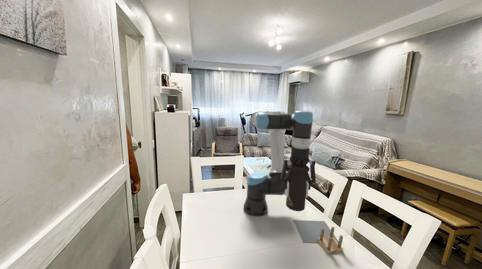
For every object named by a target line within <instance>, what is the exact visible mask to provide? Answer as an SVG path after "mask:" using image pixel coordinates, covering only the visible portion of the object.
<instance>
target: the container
mask: <svg viewBox="0 0 482 269" xmlns="http://www.w3.org/2000/svg"><path fill="white" fill-rule="evenodd" d="M287 168H288V171H289V170H290V171H291V176H290V179H289V180H288V182H289V192H288V197H286V199H285V206H286V207H287V208H288V209H289V210H290V211H294V212H303V211H304V210H305V208H306V186H307V175H308V174H309V171H310V166H309V165H308V164H307V165H306V167H303V166H296V167H293V165H292V163H289V164H288V165H287Z"/></svg>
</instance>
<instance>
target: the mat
mask: <svg viewBox="0 0 482 269" xmlns="http://www.w3.org/2000/svg"><path fill="white" fill-rule="evenodd" d="M292 222H293V223H294V224H295V227H296V230H297V231H298V234H299V236H300V238H301V241H302V243H303V244H304V243H305V244H319V243H318V242H317V238H320V234H321V229H322V228H323V229H324V236H323V237H327V236H330V232H331V228H330V227H329V225H328V224H327V222H326V221H325V220H302V219H301V220H300V219H298V220H297V219H294V220H293V221H292ZM333 238H334V239H335V240H336V241H337V242H339V239H338V238H337V237H336V235H335V233H334V234H333Z"/></svg>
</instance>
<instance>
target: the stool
mask: <svg viewBox="0 0 482 269" xmlns="http://www.w3.org/2000/svg"><path fill="white" fill-rule="evenodd" d="M330 230H331V232H330V236H327V237H323V236H324V229H323V228H322V229H321V234H320V238H317V242H318V243H317V244H319V246H321V247H322V249H323V250H324V251H325V252H326V253H327V254H328V255H329V254H334V253H339V252H343V251H344V248H343V247H342V244H343V241H344V240H343V238H344V236H343V235H341V234H340V235H339V238H338V241H339V242H337V241H336V240H335V239H334V238H333V234H334V235H335V227H334V226H331V228H330Z"/></svg>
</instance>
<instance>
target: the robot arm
mask: <svg viewBox="0 0 482 269" xmlns="http://www.w3.org/2000/svg"><path fill="white" fill-rule="evenodd" d="M313 114H314V113H313V112H312V111H309V110H295V111H294V113H286V112H285V111H279V110H278V111H273V110H270V111H269V110H261V111H257V112H254V113H253V114H252V115H251V117H250V123H251V125H253V126H254V127H256V128H257V130H267V132H268V133H269V135H270V137H269V138H270V139H269V140H270V165H271V166H270V167H271V168H270V169H271V170H270V171H269V172H268V174H267V173H266V172H262V171H255V172H251V173H250V174H249V175H248V176H247V182H246V184H247V186H246V199H245V202H244V203H243V211H244V213H246V214H247V215H249V216H253V217H262V216H265V215H266V214H268V211H269V210H268V209H269V208H268V203H267V200H266V196H285V197H286V198H287V197H288V192H289V182H288V180H289V179H290V176H291V171H290V170H289V169H288V171H287V168H288V166H289V165H290V164H292V165H293V167H296V166H303V167H306V165H307V166H308V164H309V168H310V170H309V171H310V174H309V173H308V175H307V186H306V198H308V193H309V191H310V190H311V188H312V186H311V185H312V184H313V183H316V167H315V166H316V161H315V160H314V159H313V158H311V159H310V158H309V157H310V147H311V136H312V127H313V121H314V119H313V118H314V117H313V116H314V115H313ZM286 130H287V131H292V136H291V138H292V139H291V149H290V150H291V151H290V156H289V158H285V140H284V138H285V136H284V133H285V132H286ZM306 198H305V199H306Z"/></svg>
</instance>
